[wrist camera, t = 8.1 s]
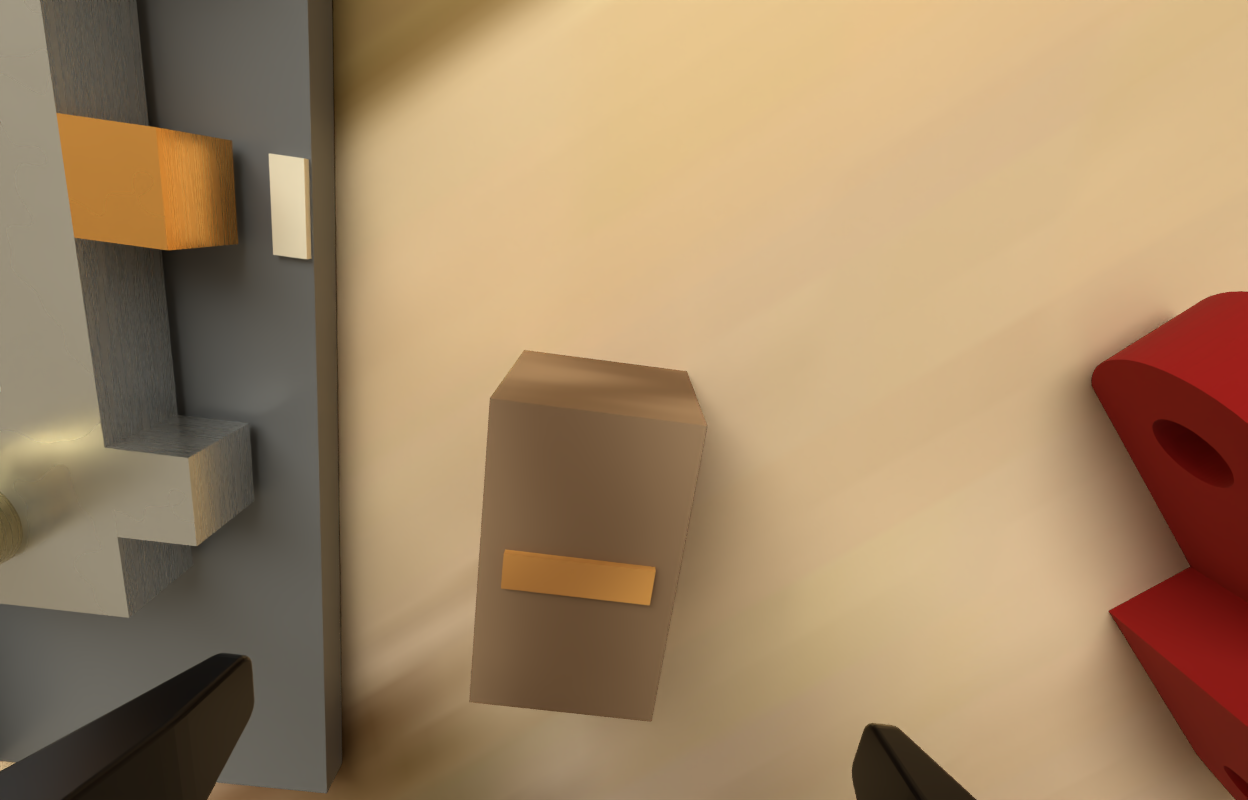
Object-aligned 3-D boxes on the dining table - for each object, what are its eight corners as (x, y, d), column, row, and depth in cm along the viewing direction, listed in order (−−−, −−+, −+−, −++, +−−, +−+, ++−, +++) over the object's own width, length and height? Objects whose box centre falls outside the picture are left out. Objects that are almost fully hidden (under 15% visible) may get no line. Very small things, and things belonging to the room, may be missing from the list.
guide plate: (324, -596, 10) (196, -942, 7) (342, 763, 18) (290, 865, 16) (-471, -753, 9) (-978, -1199, 6) (-60, 721, 18) (-190, 820, 15)
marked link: (685, 369, 15) (708, 428, 11) (645, 605, 17) (651, 727, 13) (525, 348, 15) (488, 400, 11) (504, 589, 17) (467, 707, 13)
